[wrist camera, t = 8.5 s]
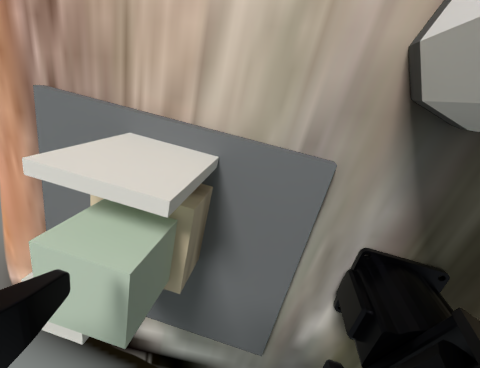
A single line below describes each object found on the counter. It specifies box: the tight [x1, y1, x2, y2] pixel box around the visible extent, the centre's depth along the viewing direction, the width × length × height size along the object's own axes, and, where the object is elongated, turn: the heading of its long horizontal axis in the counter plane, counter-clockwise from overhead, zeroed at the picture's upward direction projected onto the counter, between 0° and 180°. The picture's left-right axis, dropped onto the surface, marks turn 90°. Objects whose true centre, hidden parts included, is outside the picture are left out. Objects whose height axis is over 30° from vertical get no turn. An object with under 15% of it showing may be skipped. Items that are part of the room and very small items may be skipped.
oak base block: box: [90, 183, 213, 294], centre depth 18 cm, size 7×7×4 cm
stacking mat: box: [22, 85, 337, 356], centre depth 18 cm, size 23×20×9 cm
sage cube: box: [29, 199, 178, 349], centre depth 14 cm, size 5×5×5 cm
